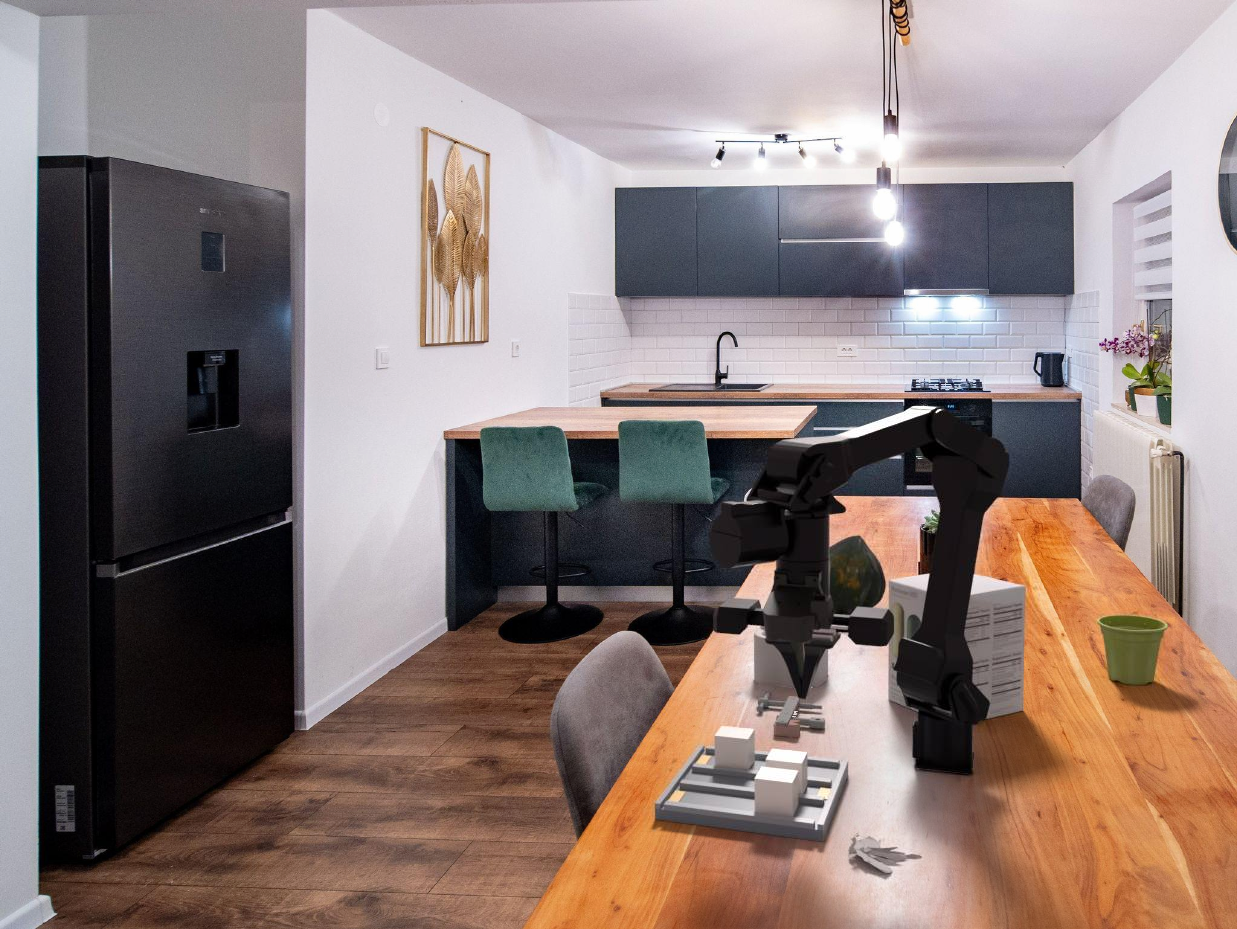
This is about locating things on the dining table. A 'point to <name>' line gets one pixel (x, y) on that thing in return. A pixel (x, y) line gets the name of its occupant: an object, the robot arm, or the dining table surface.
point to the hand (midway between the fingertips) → (803, 698)
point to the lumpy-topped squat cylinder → (779, 664)
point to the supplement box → (971, 636)
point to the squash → (854, 576)
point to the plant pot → (1131, 647)
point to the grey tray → (750, 797)
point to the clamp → (790, 715)
